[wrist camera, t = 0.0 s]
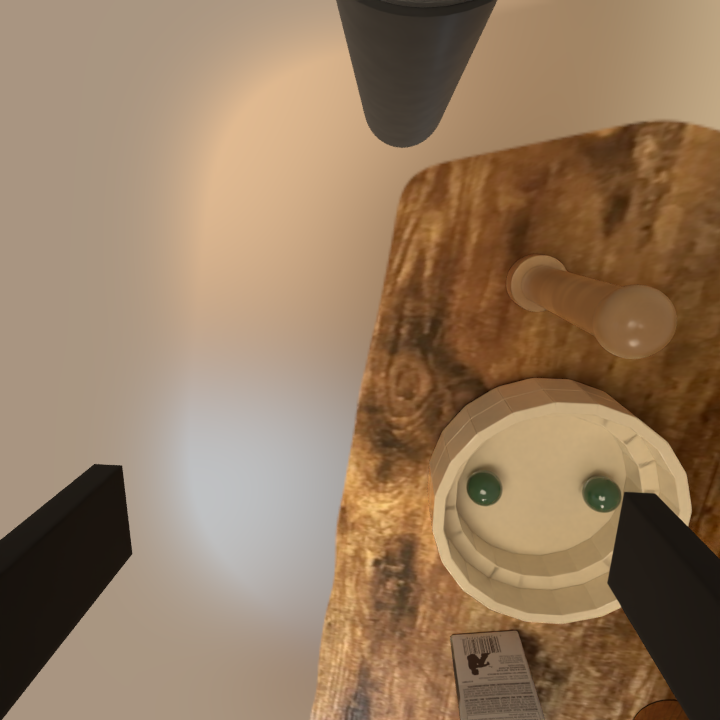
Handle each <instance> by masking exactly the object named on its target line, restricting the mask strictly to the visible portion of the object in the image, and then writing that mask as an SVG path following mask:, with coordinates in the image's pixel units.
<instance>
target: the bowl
mask: <svg viewBox="0 0 720 720" xmlns="http://www.w3.org/2000/svg"><path fill="white" fill-rule="evenodd" d="M478 470H488V471H491V472H493V473H495V474H496V475H497V476H498V477H499V479H500V480H501V482H502V486H503V493H502V496H501V498H500V500H499V501H498V502H497V503H496V504H494V505H492V506H487V507H484V506H480V505H477V504H475V503H474V502H473V501H472V500H471V499H470V498H469V496H468V494H467V490H466V484H467V480H468V478H469V477H470V476H471V475H472V474H473V473H474V472H476V471H478ZM594 476H606V477H608V478H610V479H612V480H613V481H615V482H616V483H617V485H618V486H619V488H620V490H621V493H622V500H621V503H620V505H619V506H618V508H617V509H615V510H614V511H612V512H609V513H600V512H596V511H594V510H592V509H591V508H589V507H588V506H587V505H586V503H585V502H584V500H583V497H582V487H583V485H584V483H585V482H586V481H587V480H588V479H589V478H591V477H594ZM624 492H638V493H655V494H656V495H657V496H658V497H659V498H660V499H661V500H662V501H663V502H664V503H665V504H666V505H667V506H668V507H669V508H670V509H671V510H672V511H673V512H674V513H675V514H676V515H677V516H678V517H679V518H680V519H681V520H682V521H683V522H684V523H685V524H686V525H687V526H688V525H689V521H690V516H691V512H692V510H691V509H692V507H691V500H690V494H689V487H688V480H687V475H686V472H685V470H684V469H683V467H682V465H681V464H680V462H679V460H678V458H677V457H676V455H675V453H674V452H673V450H672V448H671V447H670V445H669V443H668V442H667V441H666V440H665V439H663V438H662V437H661V436H660V435H658V434H657V433H656V432H655V431H653V430H652V429H651V428H650V427H648V426H647V425H646V424H645V423H643V422H642V421H641V420H640V419H638V418H637V417H636V416H635V415H633V414H632V413H631V412H630V411H628V410H627V409H626V408H624V407H623V406H622V405H621V404H619V403H618V402H617V401H616V400H614V399H613V398H612V397H610V396H609V395H608V394H607V393H605V392H604V391H601V390H598V389H595V388H593V387H590V386H587V385H584V384H582V383H579V382H576V381H573V380H569V379H547V378H530V379H526V380H522V381H519V382H515V383H511V384H507V385H503V386H499V387H496V388H494V389H493V390H491V391H489V392H488V393H486V394H484V395H483V396H481V397H479V398H478V399H476V400H474V401H473V402H471V403H469V404H468V405H466V406H465V407H464V408H463V409H462V410H461V411H460V412H459V413H458V414H457V416H456V417H455V418H454V419H453V420H452V421H451V422H450V423H449V424H448V426H447V427H446V428H445V429H444V430H443V431H442V433H441V436H440V438H439V440H438V442H437V445H436V447H435V449H434V452H433V454H432V456H431V459H430V462H429V473H428V488H427V493H428V501H429V508H430V516H431V523H432V531H433V534H434V538H435V541H436V544H437V548H438V551H439V554H440V558H441V561H442V563H443V564H444V566H445V567H446V568H447V570H448V571H449V572H450V574H451V575H452V577H453V578H454V579H455V581H456V582H457V583H458V585H459V586H460V587H461V589H462V590H463V591H465V592H466V593H467V594H469V595H470V596H472V597H473V598H474V599H476V600H477V601H479V602H480V603H482V604H483V605H484V606H486V607H487V608H489V609H490V610H493V611H496V612H498V613H501V614H504V615H507V616H510V617H513V618H516V619H519V620H522V621H525V622H538V623H553V624H565V623H570V622H576V621H581V620H586V619H592V618H597V617H602V616H604V615H606V614H608V613H610V612H612V611H615V610H617V609H619V608H621V605H620V604H619V602H618V600H617V599H616V597H615V595H614V594H613V592H612V590H611V589H610V587H609V585H608V584H607V581H608V576H609V571H610V565H611V560H612V555H613V549H614V544H615V539H616V533H617V528H618V522H619V517H620V512H621V506H622V501H623V496H624Z"/></svg>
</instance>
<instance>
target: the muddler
mask: <svg viewBox="0 0 720 720" xmlns="http://www.w3.org/2000/svg"><path fill="white" fill-rule="evenodd" d="M506 288H507V292H508V295H509V296H510V298H511V299H512V300H513V301H514V302H515V303H516V304H517V305H519V306H520V307H522V308H524V309H525V310H528V311H532V312H542V311H546V310H548V311H550V312H552V313H554V314H555V315H557V316H559V317H561V318H563V319H564V320H566V321H568V322H570V323H572V324H574V325H575V326H577V327H579V328H581V329H583V330H584V331H586V332H588V333H590V334H592V335H593V336H595V337H596V339H597V341H598V342H599V343H600V345H601V346H602V347H603V348H604V349H606V350H607V351H608V352H610V353H612V354H613V355H616V356H618V357H622V358H627V359H639V358H645V357H649V356H651V355H653V354H655V353H657V352H659V351H660V350H662V349H663V348H664V347H665V346H666V345H667V344H668V343H669V342H670V341H671V339H672V338H673V336H674V333H675V331H676V327H677V314H676V310H675V307H674V305H673V304H672V302H671V301H670V299H669V298H668V297H667V296H666V295H665V294H663V293H662V292H661V291H659V290H657V289H655V288H652V287H650V286H646V285H628V286H623V287H622V286H618V285H614V284H611V283H607V282H603V281H600V280H596V279H592V278H589V277H585V276H581V275H577V274H574V273H570V272H567V271H566V269H565V267H564V266H563V264H562V263H561V262H560V261H559V260H557V259H555V258H553V257H551V256H547V255H542V254H531V255H527V256H524V257H522V258H521V259H519V260H518V261H516V262H515V263H514V264H513V266H512V267H511V269H510V270H509V272H508V275H507V279H506Z"/></svg>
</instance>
